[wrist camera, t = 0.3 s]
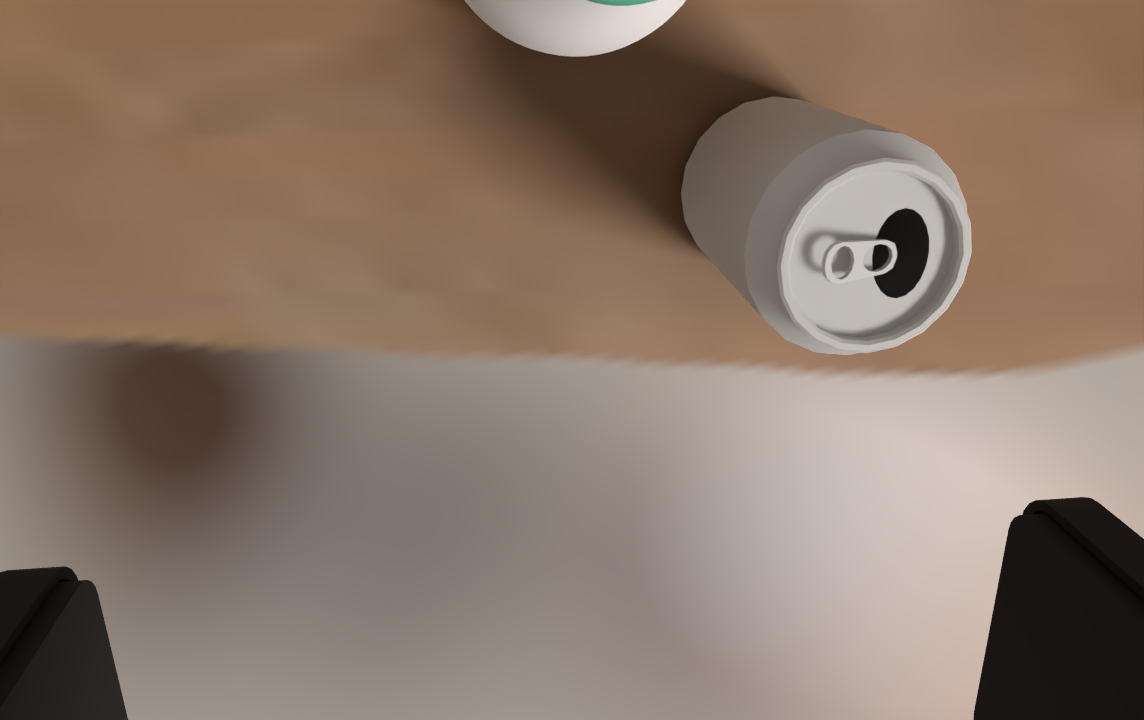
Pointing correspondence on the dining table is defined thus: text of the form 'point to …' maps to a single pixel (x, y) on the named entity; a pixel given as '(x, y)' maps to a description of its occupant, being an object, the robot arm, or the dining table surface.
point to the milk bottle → (575, 22)
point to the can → (828, 223)
